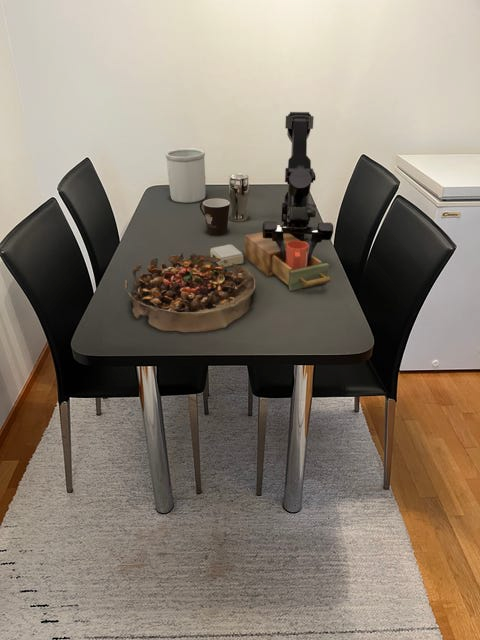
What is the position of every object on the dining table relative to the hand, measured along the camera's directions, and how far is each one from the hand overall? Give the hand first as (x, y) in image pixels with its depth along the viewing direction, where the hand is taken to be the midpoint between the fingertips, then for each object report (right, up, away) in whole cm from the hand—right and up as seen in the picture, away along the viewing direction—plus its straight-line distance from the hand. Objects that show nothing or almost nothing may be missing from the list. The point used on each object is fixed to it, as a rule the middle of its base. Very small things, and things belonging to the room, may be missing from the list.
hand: (296, 260), depth 134 cm
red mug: (0, -3, +2) cm, 4 cm away
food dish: (-28, -10, -4) cm, 29 cm away
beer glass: (-15, +20, +44) cm, 51 cm away
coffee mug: (-23, +14, +34) cm, 44 cm away
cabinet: (-5, +1, +13) cm, 14 cm away
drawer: (+1, -5, +2) cm, 5 cm away
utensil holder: (-36, +32, +64) cm, 80 cm away
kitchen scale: (-19, +2, +14) cm, 24 cm away
